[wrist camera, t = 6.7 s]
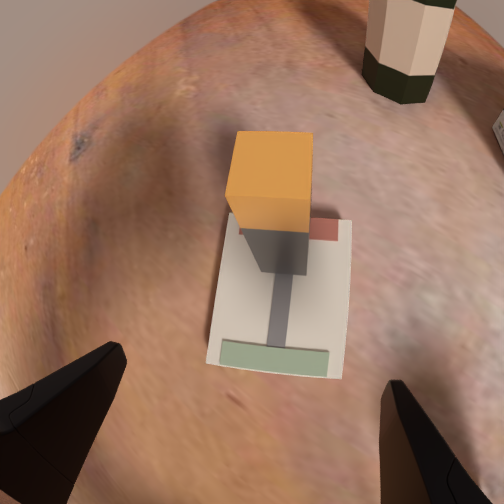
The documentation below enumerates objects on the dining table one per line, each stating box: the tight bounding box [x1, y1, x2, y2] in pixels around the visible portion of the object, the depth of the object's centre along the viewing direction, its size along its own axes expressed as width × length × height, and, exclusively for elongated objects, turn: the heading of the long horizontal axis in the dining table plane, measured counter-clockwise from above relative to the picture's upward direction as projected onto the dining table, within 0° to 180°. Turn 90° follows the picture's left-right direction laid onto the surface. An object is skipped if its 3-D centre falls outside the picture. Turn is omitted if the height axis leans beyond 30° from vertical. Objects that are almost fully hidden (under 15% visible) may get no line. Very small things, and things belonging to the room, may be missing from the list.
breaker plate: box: [206, 212, 352, 379], centre depth 22 cm, size 11×9×2 cm
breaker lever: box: [225, 131, 313, 276], centre depth 16 cm, size 3×3×10 cm
